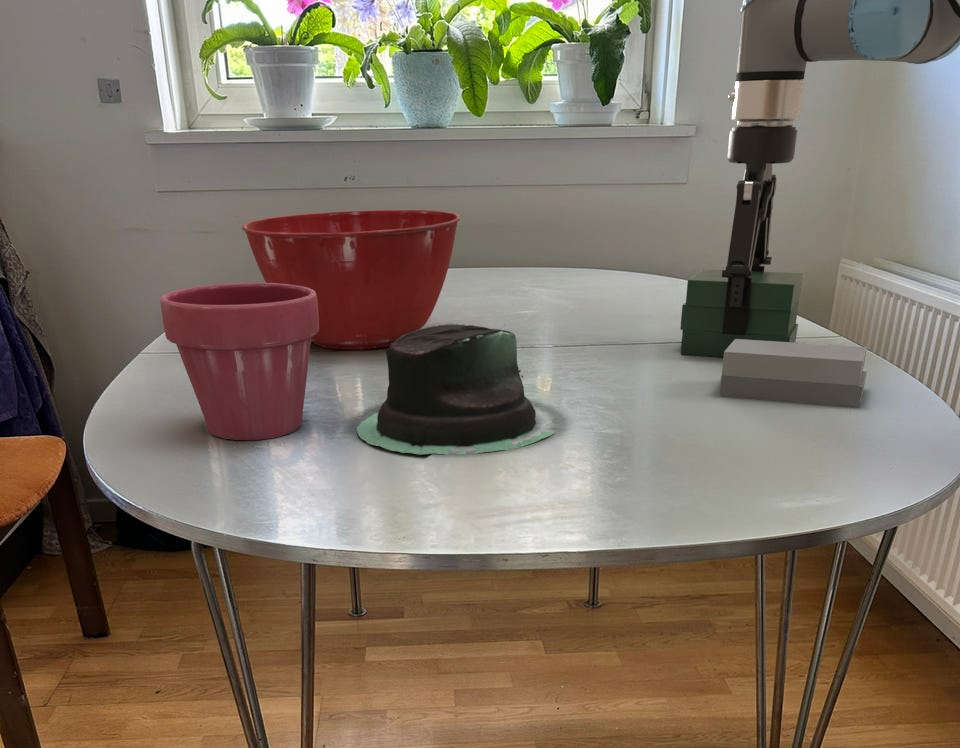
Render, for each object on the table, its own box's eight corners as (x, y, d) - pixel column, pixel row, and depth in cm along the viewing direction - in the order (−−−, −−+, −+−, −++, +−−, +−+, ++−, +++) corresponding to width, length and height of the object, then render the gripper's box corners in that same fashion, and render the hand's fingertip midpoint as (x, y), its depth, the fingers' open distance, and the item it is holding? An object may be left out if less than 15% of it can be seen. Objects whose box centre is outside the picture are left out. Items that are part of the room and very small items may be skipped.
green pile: (794, 347, 122) (801, 299, 119) (786, 361, 115) (793, 310, 112) (691, 341, 127) (696, 294, 124) (678, 354, 120) (682, 304, 117)
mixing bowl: (255, 369, 116) (238, 233, 109) (257, 325, 141) (243, 212, 133) (480, 355, 121) (478, 224, 113) (444, 315, 145) (440, 205, 138)
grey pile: (862, 394, 101) (871, 347, 99) (858, 411, 96) (867, 361, 93) (730, 384, 106) (735, 338, 104) (718, 399, 100) (723, 351, 98)
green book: (799, 298, 120) (803, 273, 118) (790, 311, 112) (794, 284, 111) (700, 293, 124) (703, 269, 122) (685, 305, 116) (687, 279, 115)
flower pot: (337, 407, 100) (325, 279, 94) (317, 447, 88) (302, 304, 82) (203, 409, 100) (182, 282, 94) (164, 450, 88) (138, 307, 82)
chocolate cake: (431, 381, 105) (597, 407, 97) (350, 504, 98) (522, 544, 89) (390, 264, 93) (575, 282, 85) (293, 393, 86) (486, 427, 77)
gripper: (746, 123, 119) (726, 309, 130) (713, 126, 101) (693, 341, 112) (808, 122, 116) (782, 312, 127) (785, 125, 98) (757, 346, 109)
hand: (740, 326), depth 119 cm, fingers closed on green book, 9 cm apart
